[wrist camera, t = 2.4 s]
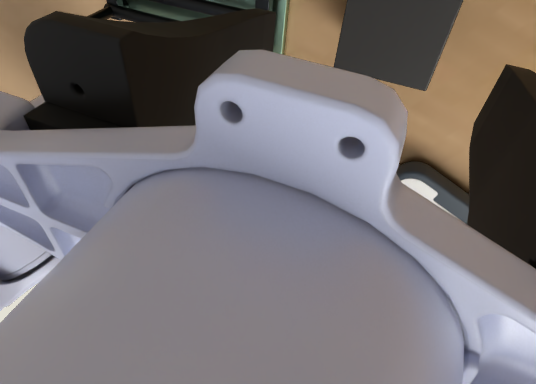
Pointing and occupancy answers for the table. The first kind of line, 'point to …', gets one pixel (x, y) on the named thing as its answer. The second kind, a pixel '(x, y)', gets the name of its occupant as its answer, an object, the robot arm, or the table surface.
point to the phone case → (435, 188)
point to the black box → (395, 39)
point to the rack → (194, 12)
